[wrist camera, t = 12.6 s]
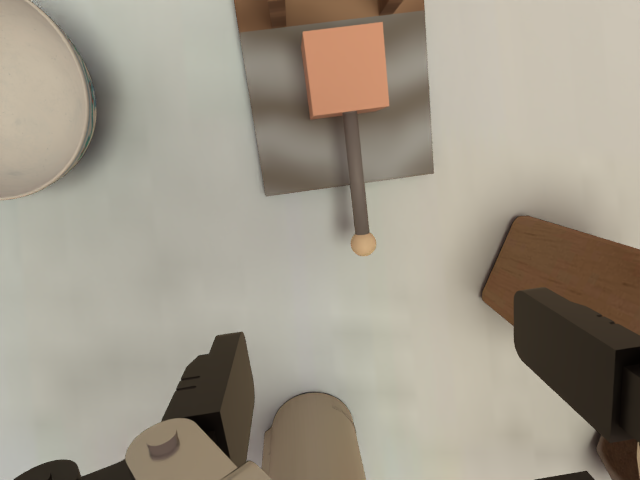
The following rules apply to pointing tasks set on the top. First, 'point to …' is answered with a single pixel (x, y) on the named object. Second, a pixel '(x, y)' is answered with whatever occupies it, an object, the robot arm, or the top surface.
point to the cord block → (348, 98)
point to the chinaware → (40, 101)
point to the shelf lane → (328, 133)
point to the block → (566, 271)
